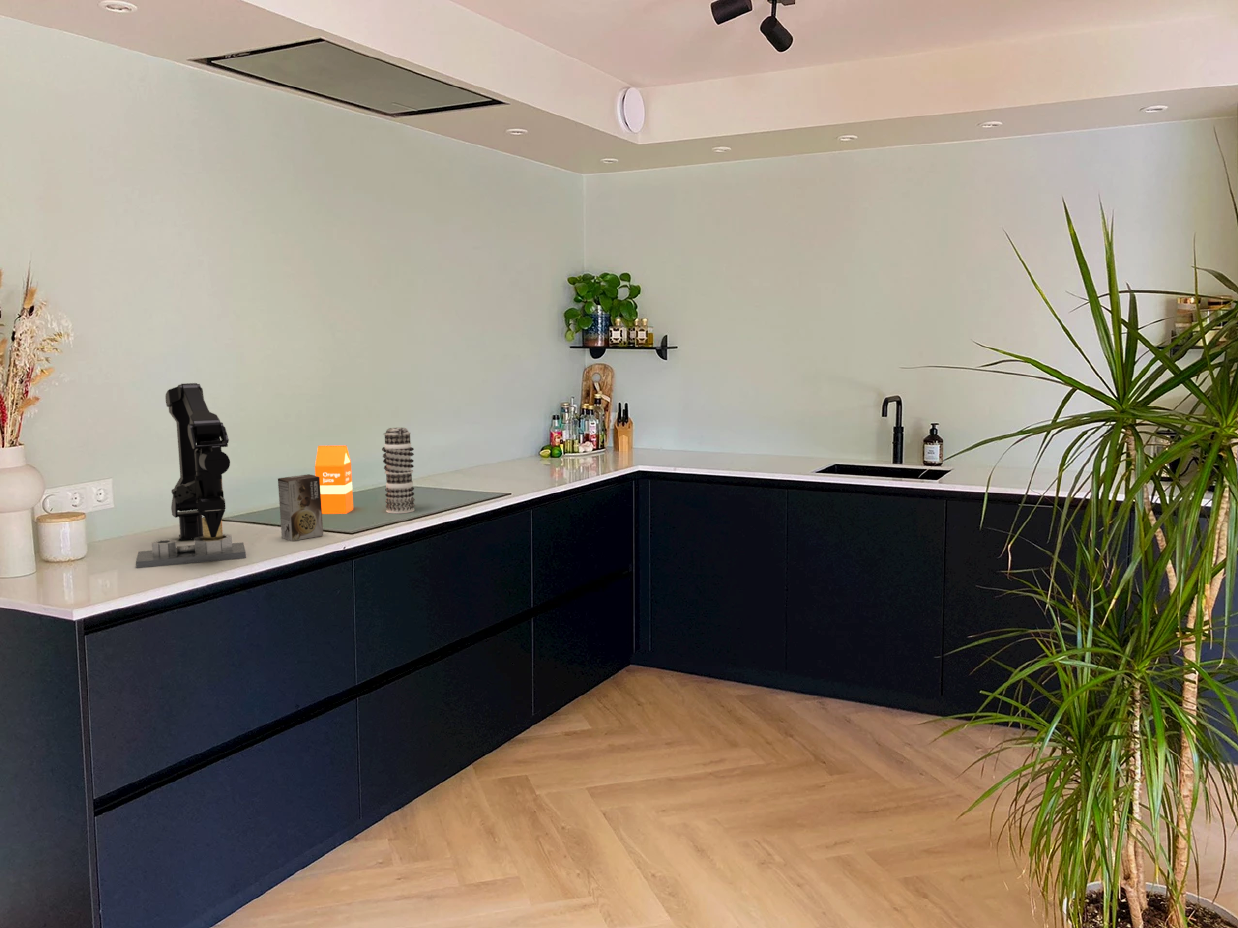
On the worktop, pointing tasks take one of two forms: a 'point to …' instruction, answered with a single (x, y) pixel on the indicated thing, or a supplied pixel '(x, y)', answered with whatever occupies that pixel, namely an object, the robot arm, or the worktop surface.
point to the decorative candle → (398, 471)
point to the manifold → (190, 552)
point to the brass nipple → (207, 534)
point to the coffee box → (300, 507)
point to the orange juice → (334, 479)
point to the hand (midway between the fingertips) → (212, 533)
